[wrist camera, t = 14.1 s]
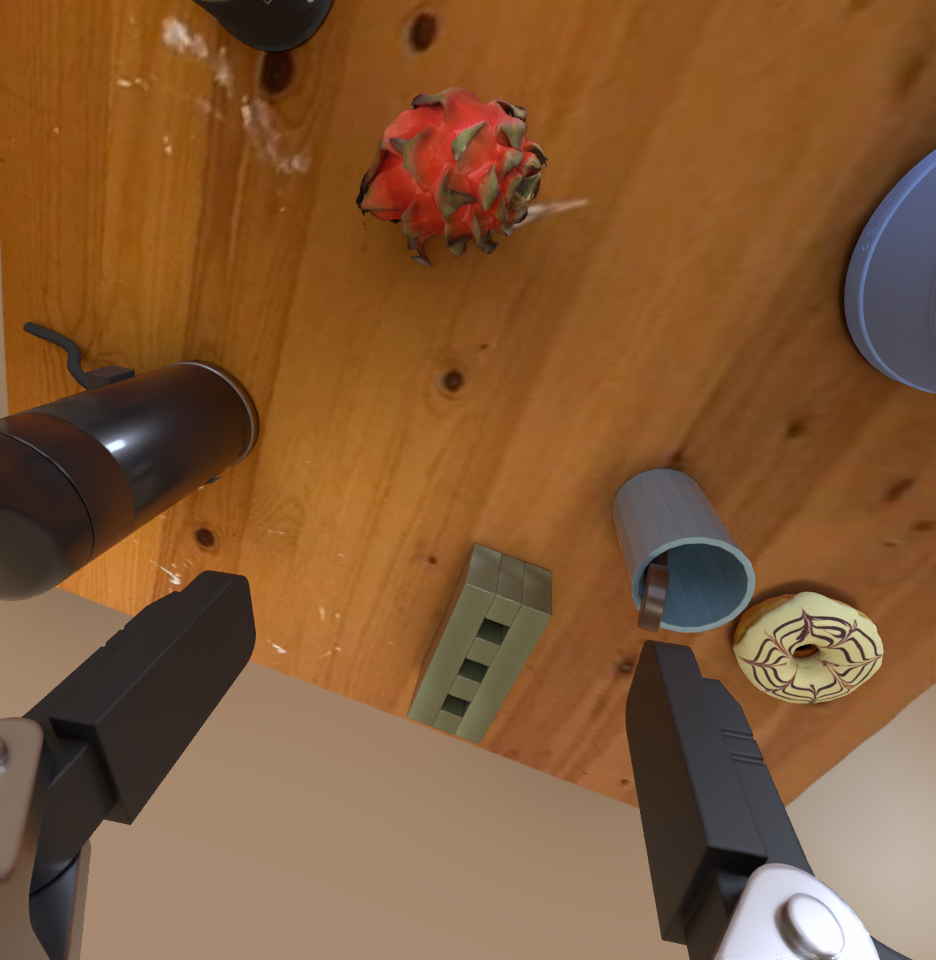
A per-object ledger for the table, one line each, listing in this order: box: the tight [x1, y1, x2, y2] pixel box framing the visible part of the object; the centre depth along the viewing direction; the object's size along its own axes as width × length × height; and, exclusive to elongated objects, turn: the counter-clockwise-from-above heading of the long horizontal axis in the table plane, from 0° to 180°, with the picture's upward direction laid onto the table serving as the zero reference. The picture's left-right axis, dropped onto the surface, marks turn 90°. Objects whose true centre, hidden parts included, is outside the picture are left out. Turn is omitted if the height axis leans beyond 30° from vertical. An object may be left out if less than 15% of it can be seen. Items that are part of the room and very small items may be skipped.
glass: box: [612, 469, 756, 632], centre depth 36 cm, size 7×7×10 cm
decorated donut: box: [733, 592, 883, 703], centre depth 42 cm, size 10×11×4 cm
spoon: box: [638, 550, 670, 632], centre depth 34 cm, size 4×1×14 cm, turn 177°
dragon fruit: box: [356, 87, 548, 267], centre depth 30 cm, size 8×8×12 cm
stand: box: [407, 544, 552, 744], centre depth 46 cm, size 7×17×6 cm, turn 160°
